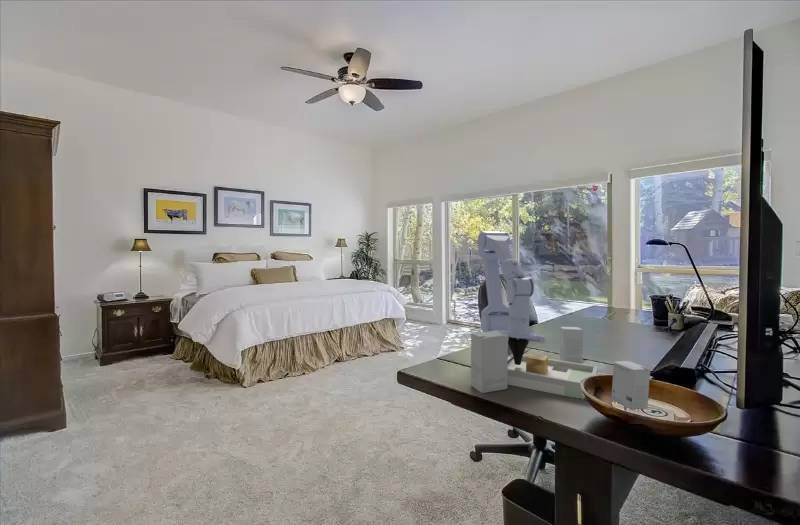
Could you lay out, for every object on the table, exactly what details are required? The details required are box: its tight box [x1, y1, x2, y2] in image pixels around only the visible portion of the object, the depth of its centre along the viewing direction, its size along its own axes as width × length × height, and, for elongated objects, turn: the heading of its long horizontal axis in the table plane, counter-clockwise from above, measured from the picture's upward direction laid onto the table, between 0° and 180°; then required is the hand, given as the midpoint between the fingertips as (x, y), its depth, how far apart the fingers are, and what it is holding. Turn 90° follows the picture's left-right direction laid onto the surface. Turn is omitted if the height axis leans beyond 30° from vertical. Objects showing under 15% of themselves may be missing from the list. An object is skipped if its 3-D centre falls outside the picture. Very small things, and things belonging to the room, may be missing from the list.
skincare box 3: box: [610, 360, 651, 410], centre depth 81 cm, size 6×4×12 cm
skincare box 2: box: [559, 326, 584, 364], centre depth 121 cm, size 6×4×12 cm
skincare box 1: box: [470, 331, 509, 394], centre depth 99 cm, size 8×6×15 cm
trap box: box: [507, 354, 599, 400], centre depth 105 cm, size 24×18×4 cm
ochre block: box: [526, 353, 549, 374], centre depth 106 cm, size 5×5×4 cm
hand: (517, 363), depth 109 cm, fingers closed
